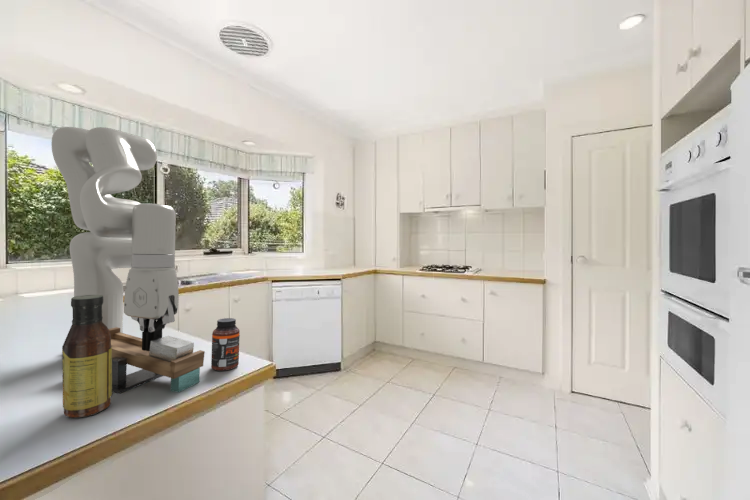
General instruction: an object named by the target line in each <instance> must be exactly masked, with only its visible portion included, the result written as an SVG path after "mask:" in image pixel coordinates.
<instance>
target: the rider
mask: <svg viewBox="0 0 750 500" xmlns="http://www.w3.org/2000/svg"><path fill="white" fill-rule="evenodd" d="M194 347H195V342H193V341H189V340H186V339H182V338H178V337H175V336H171V335H167V336H162V338H159V339H156V340H152V341H151V342H150V352H149V356H150V357H153V358H157V359H160V360H163V361H167V362H170V363H171V361H173V360H175V359H178V358H181V357H183V356H186V355H189V354H191V353H194Z"/></svg>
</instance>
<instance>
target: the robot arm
mask: <svg viewBox="0 0 750 500" xmlns="http://www.w3.org/2000/svg"><path fill="white" fill-rule="evenodd" d="M51 153H52V157H53V159H54V162H55V164H56V167H57V169H58V170H59V172H60V174H61V175H62V177H63V180H64V182H65V185H66V189H67V194H68V195H67V196H68V200H69V205H70V211H71V217H72V221H73V222H74V224H75V226H76V227H77V228H79V229H81V230H84V231H86V232H80V233H78V234H77V235H75V236H73V238H72V239H71V240H70V242H69V254H70V255H69V256H70V259H71V265H72V270H73V271H72V272H73V297H76V296H83V295H102V296H103V304H102V317H103V319H102V322H103V323H104V324H105V325H106V326H107V328H108V329H111V328H115V327H118V328H120V332H121V333H123V330H124V328H123V327H124V325H123V324H124V323H123V320H124V314H125V315H126V316H128V317H129V318H131V320H133V321H136V322H137V323H138V324H139V331H140V332H141V338H142V350H144V351H150V342H151V341H152V340H156V339H159V338H163V330H164V329H165V327H166V325H167V324H171V323H174V322H175V315H177V313H178V310H179V300H180V299H179V298H180V297H179V285H178V284H179V282H178V276H177V271H176V269H175V268H176V267H175V263H176V262H175V259H176V255H175V254H176V225H177V224H176V222H177V221H176V218H177V215H176V210H175V208H173V207H172V206H170V205H165V204H162V203H161V204H159V203H149V202H148V203H141V202H139V201H137V200H132V199H127V198H119V197H114V196H113V195H114V194H120V193H124V192H127V191H131V190H133V189H135V188H136V187H138V186H139V184H140V183H141V181H142V178H143V175H142V173H141V171H149V170H150V169H152V168H154V166H155V165H156V163H157V160H158V155H157V150H156V147H155V145H154V144H153V143H152V141H150V140H149V139H147V138H145V137H143V136H139V135H136V134H132V133H128V132H124V131H121V130H118V129H114V128H110V127H103V126H99V127H98V126H97V127H93V128H91V129H85V128H82V127H81V128H80V127H74V126H64V127H59V128H57V129H56V130H55V131H54V132H53V134H52V136H51ZM90 163H91V164H92V165H91V164H90ZM115 269H129V270H128V273H127V277H126V281H125V289H124V284H123V282H122V280H121V279H120V278H119V276H117V274H115V273H114V272H113V271H112V270H115Z"/></svg>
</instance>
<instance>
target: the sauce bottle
mask: <svg viewBox="0 0 750 500" xmlns="http://www.w3.org/2000/svg"><path fill="white" fill-rule="evenodd" d="M102 304H103V296H102V295H83V296H76V297H74V296H73V297H71V299H70V307H71V308H72V320H71V326H70V329H69V330H68V333H67V335H66V337H65V339H64V342H63V344H62V347H61V353H62V354H61V355H62V356H61V357H62V361H61V364H62V365H61V368H62V408H63V414H64V415H65V417H66V418H71V419H74V418H76V419H80V418H87V417H90V416H91V417H92V416H94V415H96V414H98V413H100V412H102V411H105V410H106V409H107V408H109V407H110V406H111V404H112V403H111V401H112V398H111V397H112V395H113V392H112V346H111V334H110V331H109V329H108V328H107V326H106V325H105V324H104V323H103V322H102V319H103V317H102Z"/></svg>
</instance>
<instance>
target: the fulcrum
mask: <svg viewBox="0 0 750 500" xmlns="http://www.w3.org/2000/svg"><path fill="white" fill-rule="evenodd" d="M127 367H128V364H127V359H126V358H120V357H114V358H112V393H114V394H122V393H124V392H126V391H129V390H131V389H134V388H136V387H138V386H141V385H143V384H145V383H149V382H151V381H153V380H157V379H158V378H160V377H163V375H160V374H157V373H153V372H150V371H147V370H144V369H138V370H137V371H134V372H130V373H129V374H127V370H128V369H127ZM200 368H201V367H200ZM200 368H197V369H195V370H193V371H191V372H188V373H186V374H184V375H182V376H179V377H177V378H175V379H172V378H170V391H171V392H175V393H180V392H182V391H184V390H187V389H188V388H190V387H193V386H194V385H196V384H199V383H200V377H201V376H200V370H201V369H200Z"/></svg>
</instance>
